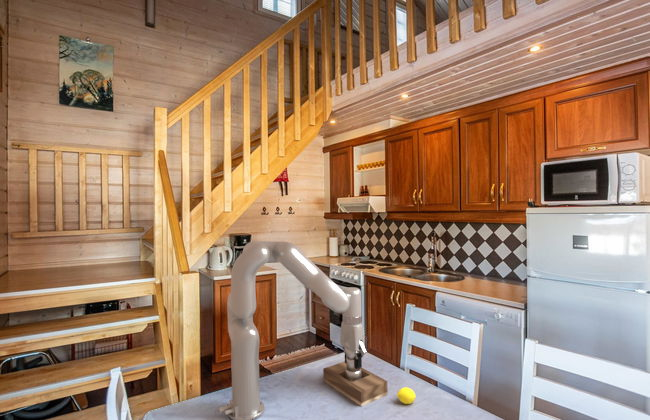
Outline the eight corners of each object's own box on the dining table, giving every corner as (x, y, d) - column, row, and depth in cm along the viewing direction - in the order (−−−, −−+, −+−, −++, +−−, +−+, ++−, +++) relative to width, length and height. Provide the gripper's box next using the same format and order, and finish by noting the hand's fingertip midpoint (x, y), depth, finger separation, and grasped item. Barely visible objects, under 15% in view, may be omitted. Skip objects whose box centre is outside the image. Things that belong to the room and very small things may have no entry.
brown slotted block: (361, 406, 127) (361, 391, 127) (323, 380, 146) (323, 368, 146) (387, 394, 134) (387, 381, 134) (348, 372, 154) (348, 360, 154)
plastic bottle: (361, 377, 143) (360, 327, 143) (361, 385, 137) (360, 333, 137) (345, 377, 144) (344, 327, 144) (345, 385, 137) (343, 333, 137)
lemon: (412, 399, 131) (414, 385, 131) (417, 407, 126) (418, 392, 126) (394, 398, 131) (395, 383, 131) (397, 406, 125) (399, 391, 125)
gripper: (331, 316, 145) (332, 360, 145) (358, 326, 131) (359, 375, 131) (346, 313, 150) (347, 356, 149) (373, 323, 135) (375, 370, 135)
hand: (353, 364), depth 140 cm, fingers closed on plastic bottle, 5 cm apart
